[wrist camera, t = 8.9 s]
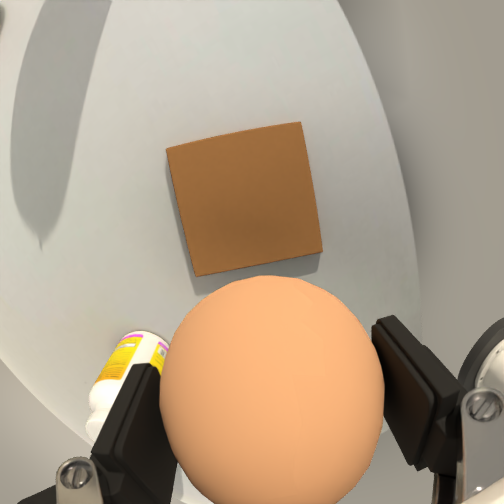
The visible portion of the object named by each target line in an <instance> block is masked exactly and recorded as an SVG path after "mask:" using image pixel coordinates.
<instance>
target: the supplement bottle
mask: <svg viewBox="0 0 504 504" xmlns="http://www.w3.org/2000/svg"><path fill="white" fill-rule="evenodd" d="M168 349H169V346H168V344H167V343H166V342H165V341H164V340H163V339H161V338H160V337H158V336H156V335H154V334H152V333H149V332H144V331H135V332H131V333H129V334H127V335H125V336H124V337H123V338H122V339H121V340H120V342H119V343H118V345H117V347H116V348H115V350H114V352H113V353H112V355H111V356H110V358H109V360H108V362H107V363H106V365H105V366H104V368H103V370H102V372H101V373H100V375H99V377H98V378H97V380H96V382H95V384H94V385H93V387H92V389H91V391H90V394H89V406H90V409H91V411H92V414H91V415H90V417H89V419H88V421H87V423H86V432H87V434H88V436H89V437H90V438H91V440H92V441H93V442H95V441H96V439H97V437H98V435H99V433H100V430H101V428H102V426H103V424H104V422H105V420H106V418H107V415H108V413H109V411H110V409H111V407H112V405H113V403H114V401H115V399H116V397H117V395H118V393H119V390H120V388H121V386H122V384H123V382H124V380H125V378H126V376H127V374H128V372H129V370H130V368H131V366H132V365H133V364H139V363H150V364H151V365H152V366H155V367H157V369H158V371H159V373H160V375H161V373H162V369H163V365H164V361H165V357H166V354H167V351H168Z"/></svg>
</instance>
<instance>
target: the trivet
mask: <svg viewBox="0 0 504 504" xmlns="http://www.w3.org/2000/svg"><path fill="white" fill-rule="evenodd" d="M166 152H167V157H168V162H169V167H170V172H171V176H172V181H173V186H174V190H175V195H176V199H177V204H178V208H179V212H180V217H181V221H182V225H183V229H184V233H185V237H186V241H187V245H188V249H189V253H190V257H191V261H192V265H193V269H194V272H195V276H196V277H198V276H203V275H209V274H214V273H219V272H224V271H229V270H235V269H240V268H245V267H250V266H255V265H260V264H265V263H270V262H275V261H280V260H285V259H290V258H295V257H300V256H305V255H310V254H315V253H320V252H323V249H322V241H321V234H320V227H319V220H318V214H317V207H316V201H315V195H314V189H313V183H312V177H311V171H310V166H309V160H308V155H307V150H306V145H305V140H304V135H303V130H302V125H301V122H294V123H287V124H280V125H274V126H268V127H262V128H256V129H250V130H245V131H240V132H235V133H230V134H225V135H220V136H216V137H211V138H207V139H202V140H198V141H194V142H190V143H186V144H182V145H178V146H174V147H170V148H167V149H166Z"/></svg>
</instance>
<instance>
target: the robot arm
mask: <svg viewBox="0 0 504 504" xmlns="http://www.w3.org/2000/svg"><path fill="white" fill-rule="evenodd" d="M372 344H373V345H374V347H375V349H376V352H377V355H378V358H379V361H380V365H381V369H382V374H383V379H384V384H385V390H384V410H383V416H384V418H385V420H386V422H387V423H388V425H389V427H390V429H391V431H392V433H393V435H394V437H395V439H396V441H397V443H398V445H399V447H400V449H401V451H402V453H403V455H404V457H405V459H406V461H407V463H408V465H410V466H411V465H413V464H414V466H415V468H416V470H417V471H420V470H422V469H424V468H426V467H428V468H429V470H430V471H431V472H433V473H434V484H433V493H432V503H431V504H504V339H503V340H502V341H501V342H500V343H498V344H497V345H496V346H495V347H494V349H493V350H492V351H491V352H490V353H489V355H488V356H487V357H486V359H485V360H484V362H483V363H482V365H481V367H480V369H479V371H478V373H477V376H476V379H475V389H473V390H471V391H470V392H467V391H466V390H465V388H464V387H463V386H462V385H461V384H460V383H459V382H458V380H457V379H456V378H455V377H454V376H453V375H452V374H451V372H450V371H449V370H448V369H447V368H446V367H445V366H444V365H443V364H442V362H441V361H440V360H439V359H438V358H437V357H436V356H435V355H434V354H433V352H432V351H431V350H430V349H429V348H428V347H426V346H425V345H422V344H421V343H420V342H419V341H418V340H417V339H416V338H415V337H414V336H413V335H412V333H411V332H410V331H409V330H408V329H407V328H406V327H405V326H404V325H403V324H402V323H401V322H400V321H399V320H398V319H397V318H396V316H394V315H391V316H387V317H384V318H380V319H378V320H377V321H376V324H375V325H373V326H372ZM160 379H161V375H160V373H159V371H158V369H157V367H155V366H152V365H151V364H150V363H139V364H133V365H132V366H131V368H130V370H129V372H128V374H127V376H126V378H125V380H124V382H123V384H122V386H121V388H120V390H119V393H118V395H117V397H116V399H115V401H114V403H113V405H112V407H111V409H110V411H109V413H108V415H107V418H106V420H105V422H104V424H103V426H102V428H101V430H100V433H99V435H98V437H97V439H96V441H95V444H94V446H93V448H92V450H91V453H92V455H91V457H90V459H88V458H86V457H73V458H71V459H68V460H67V461H65V462H64V463H63V464H62V465H61V466H60V467H59V469H58V471H57V473H56V485H54V486H52V487H49V488H47V489H45V490H43V491H41V492H39V493H37V494H35V495H32V496H30V497H28V498H25V499H23V500H21V501H20V502H18V503H17V504H170V502H171V497H172V491H173V485H174V479H175V474H176V468H177V463H178V461H177V459H176V458H175V455H174V453H173V451H172V449H171V446H170V443H169V440H168V437H167V434H166V431H165V428H164V425H163V420H162V416H161V411H160V406H159V403H160Z"/></svg>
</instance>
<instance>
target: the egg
mask: <svg viewBox="0 0 504 504" xmlns="http://www.w3.org/2000/svg"><path fill="white" fill-rule="evenodd" d="M384 390H385V384H384V379H383V374H382V369H381V365H380V361H379V358H378V355H377V352H376V349H375V347H374V345H373V344H372V342H371V340H370V338H369V337H368V335H367V333H366V332H365V330H364V328H363V326H362V325H361V323H360V321H359V320H358V319H357V318H356V317H355V316H354V315H353V314H352V312H351V311H350V310H349V309H348V308H347V307H346V306H345V305H344V304H343V303H342V302H341V301H340V300H339V299H338V298H336V297H335V296H333V295H332V294H330V293H328V292H327V291H325V290H324V289H322V288H320V287H317V286H315V285H312V284H310V283H308V282H305V281H303V280H301V279H297V278H288V277H280V276H256V277H252V278H247V279H243V280H239V281H234V282H232V283H230V284H228V285H226V286H224V287H222V288H220V289H218V290H216V291H214V292H213V293H211V294H210V295H208V296H207V297H205V298H204V299H203V300H201V301H200V302H199V303H198V304H197V305H196V306H195V307H194V308H193V309H192V310H191V311H190V312H189V313H188V314H187V315H186V316H185V318H184V319H183V321H182V323H181V324H180V326H179V327H178V329H177V330H176V332H175V333H174V336H173V339H172V341H171V344H170V346H169V349H168V351H167V354H166V357H165V361H164V365H163V369H162V373H161V379H160V403H159V406H160V411H161V416H162V420H163V425H164V428H165V431H166V434H167V437H168V440H169V443H170V446H171V449H172V451H173V453H174V455H175V458H176V459H177V461H178V463H179V464H180V466H181V468H182V469H183V471H184V472H185V474H186V476H187V477H188V479H189V480H190V482H191V483H192V485H193V486H194V487H195V488H196V489H197V490H198V491H199V492H200V493H201V494H202V495H204V496H205V497H206V498H208V499H209V500H210V501H212V502H213V503H214V504H336V503H337V502H338V501H339V500H340V499H342V498H343V497H344V496H345V495H346V494H347V493H348V492H349V491H351V490H352V489H353V488H354V487H355V485H356V484H357V483H358V481H359V480H360V479H361V477H362V476H363V474H364V473H365V471H366V470H367V469H368V467H369V466H370V463H371V460H372V457H373V454H374V451H375V448H376V445H377V442H378V439H379V436H380V433H381V429H382V424H383V410H384Z"/></svg>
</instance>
